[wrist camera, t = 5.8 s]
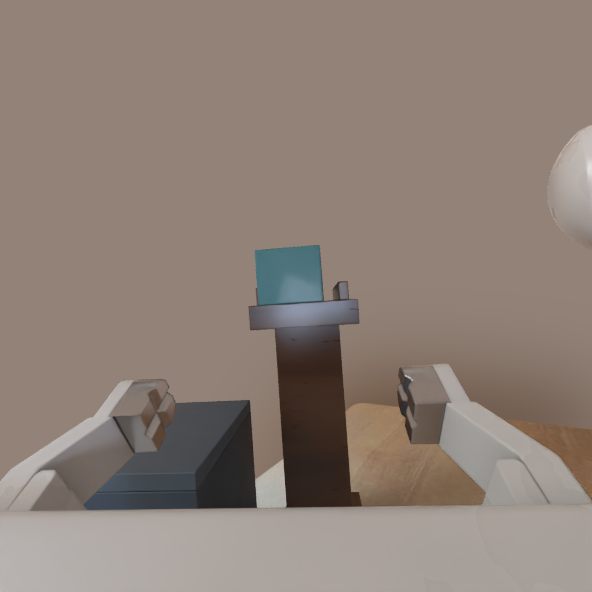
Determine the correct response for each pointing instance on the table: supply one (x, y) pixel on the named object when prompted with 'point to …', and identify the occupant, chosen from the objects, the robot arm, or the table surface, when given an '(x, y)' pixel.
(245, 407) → the slate crate
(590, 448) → the table surface
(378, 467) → the table surface
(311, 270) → the teal block
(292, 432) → the walnut stand
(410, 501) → the table surface
